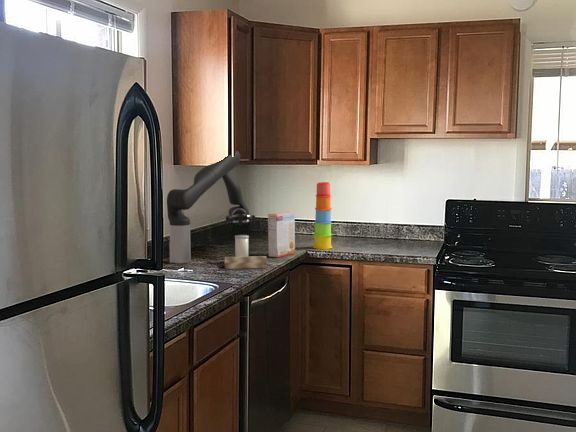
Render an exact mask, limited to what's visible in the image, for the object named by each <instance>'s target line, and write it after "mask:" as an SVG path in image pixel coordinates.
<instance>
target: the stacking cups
mask: <svg viewBox="0 0 576 432" xmlns="http://www.w3.org/2000/svg"><path fill="white" fill-rule="evenodd" d="M331 197H332V195H331V184H330V182H329V181H328V182H325V181H323V182H321V181H320V182H317V184H316V194H315V207H314V209H315V220H314V233H313V235H314V241H313V246H312V248H313V249H316V250H317V249H318V250H330V248H331V249H333V246H332V236H333V233H332V222H333V221H332V218H331V216H332V213H331V212H332V207H331Z"/></svg>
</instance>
